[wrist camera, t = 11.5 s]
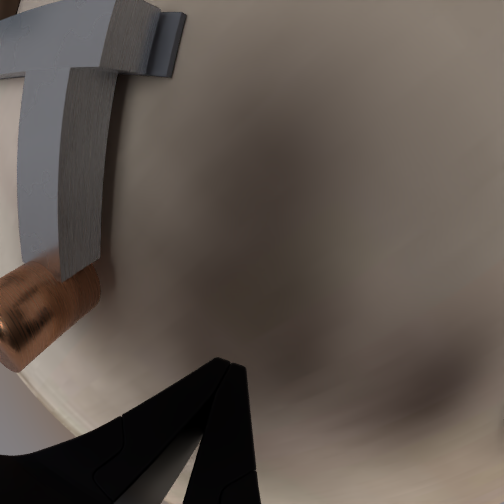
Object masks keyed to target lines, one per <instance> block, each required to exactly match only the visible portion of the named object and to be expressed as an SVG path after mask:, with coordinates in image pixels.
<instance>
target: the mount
mask: <svg viewBox="0 0 504 504" xmlns="http://www.w3.org/2000/svg"><path fill="white" fill-rule="evenodd" d="M19 2H20V0H0V20H3V19H6V18H8V17H11V16H14V15H16V12H17V9H18V5H19ZM185 18H186V14H184V13H182V12H160V16H159V19H158V23H157V27H156V31H155V35H154V39H153V43H152V47H151V51H150V56H149V60H148V65H147V69H146V74H134V73H118V74H128V75H146V76H159V77H171V76H172V71H173V67H174V62H175V58H176V54H177V49H178V45H179V41H180V37H181V33H182V29H183V25H184V22H185ZM17 77H25V76H17ZM8 78H16V77H8ZM0 79H7V78H0Z"/></svg>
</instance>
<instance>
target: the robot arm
mask: <svg viewBox="0 0 504 504" xmlns="http://www.w3.org/2000/svg"><path fill="white" fill-rule="evenodd" d="M200 440H201V442H200ZM199 442H200V446H199V449H198V453H197V456H196V459H195V463H194V466H193V470H192V473H191V477H190V480H189V484H188V487H187V490H186V494H185V497H184V501H183V504H261V500H260V493H259V487H258V479H257V472H256V471H255V470H256V462H255V452H254V443H253V433H252V423H251V413H250V403H249V393H248V382H247V371H246V367H244V366H242V365H239V364H236V363H231V364H230V362H229V361H227V360H225V359H222V358H219V357H216V358H214V359H212V360H211V361H209V362H208V363H206V364H205V365H203V366H202V367H200V368H198V369H197V370H195V371H194V372H192V373H191V374H189V375H187V376H186V377H184V378H183V379H181V380H179V381H178V382H176V383H175V384H173V385H171V386H170V387H168V388H166V389H165V390H163V391H162V392H160V393H158V394H157V395H155V396H153V397H152V398H150V399H148V400H147V401H145V402H143V403H142V404H140V405H138V406H136V407H135V408H133V409H131V410H130V411H128V412H126V413H124V414H123V415H122V417H121V416H119V417H117V418H115V419H114V420H112V421H110V422H108V423H106V424H104V425H103V426H101V427H99V428H97V429H95V430H93V431H90V432H88V433H86V434H83V435H81V436H78V437H76V438H73V439H71V440H68V441H66V442H62V443H60V444H57V445H54V446H51V447H48V448H46V449H42V450H39V451H37V452H33V453H30V454H25V455H17V456H8V455H0V504H161V502H162V501H163V499H164V498H165V496H166V495H167V493H168V492H169V490H170V488H171V487H172V485H173V484H174V482H175V481H176V479H177V478H178V476H179V474H180V473H181V471H182V470H183V468H184V466H185V465H186V463H187V462H188V460H189V458H190V457H191V455H192V454H193V452H194V450H195V449H196V447H197V445H198V444H199Z"/></svg>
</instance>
